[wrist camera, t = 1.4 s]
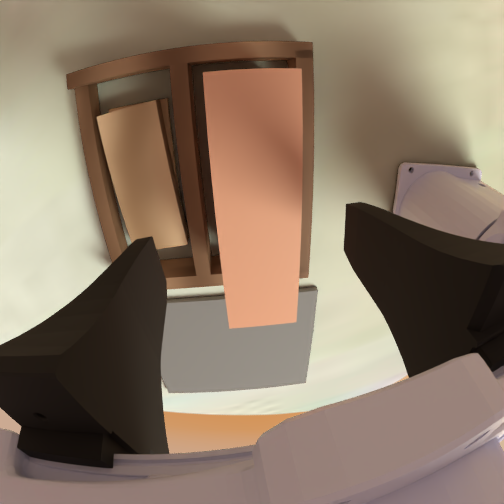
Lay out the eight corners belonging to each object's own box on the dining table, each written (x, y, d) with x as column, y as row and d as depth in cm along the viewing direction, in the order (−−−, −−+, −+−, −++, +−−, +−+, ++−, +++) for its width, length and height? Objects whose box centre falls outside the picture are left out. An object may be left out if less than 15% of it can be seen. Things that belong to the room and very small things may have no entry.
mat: (316, 286, 26) (317, 290, 26) (304, 379, 33) (305, 382, 33) (133, 301, 25) (132, 304, 25) (169, 389, 33) (169, 392, 32)
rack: (301, 46, 16) (312, 42, 14) (301, 259, 24) (308, 277, 22) (82, 73, 15) (66, 74, 13) (124, 273, 24) (116, 292, 22)
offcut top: (159, 99, 17) (155, 99, 16) (189, 236, 22) (187, 244, 21) (103, 114, 17) (96, 116, 16) (139, 244, 22) (135, 252, 21)
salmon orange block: (268, 75, 17) (301, 68, 9) (272, 238, 23) (296, 322, 16) (212, 78, 17) (202, 72, 9) (226, 242, 23) (229, 328, 15)
